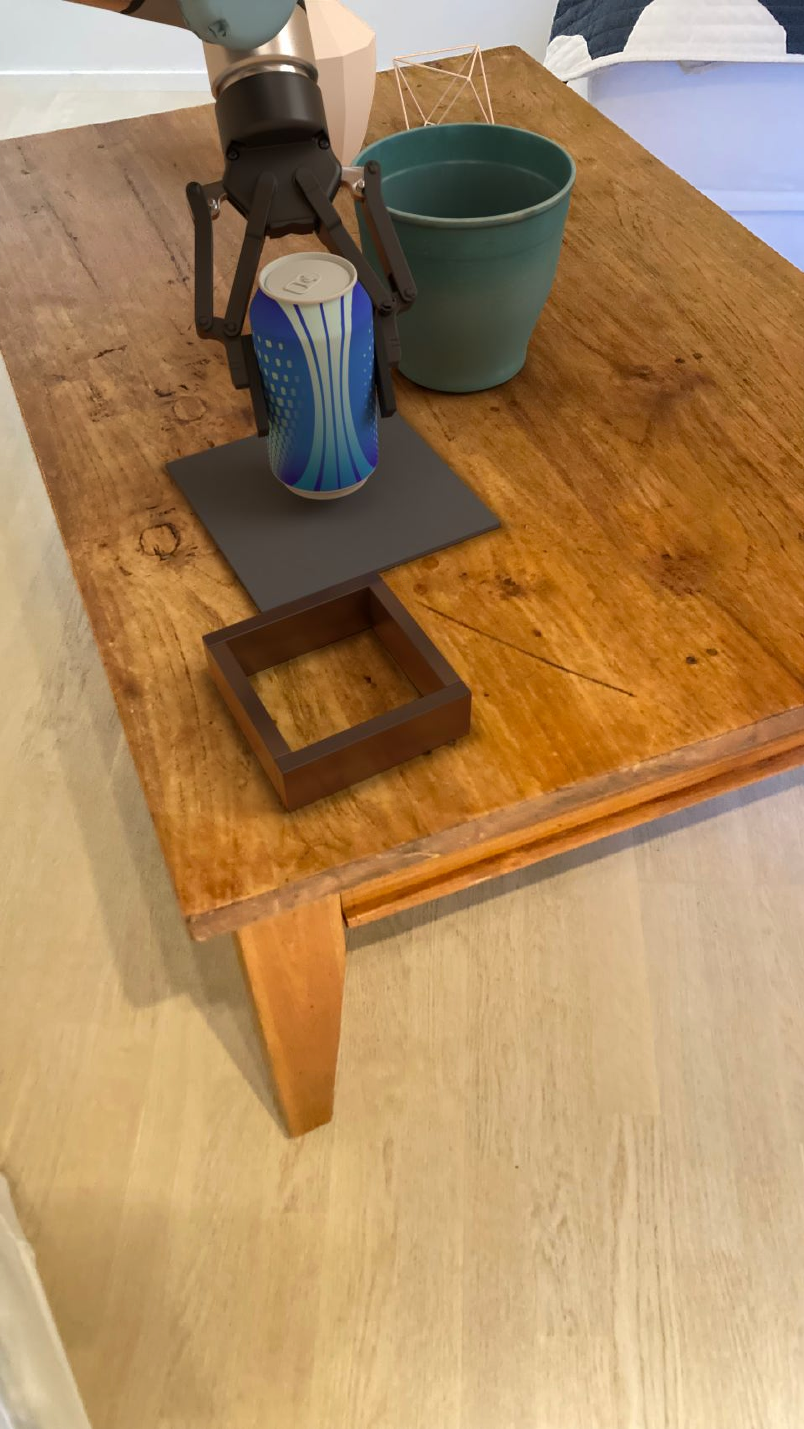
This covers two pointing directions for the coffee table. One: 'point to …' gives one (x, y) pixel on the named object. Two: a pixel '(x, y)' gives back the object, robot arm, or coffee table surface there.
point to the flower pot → (471, 244)
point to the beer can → (316, 373)
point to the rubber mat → (327, 515)
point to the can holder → (359, 746)
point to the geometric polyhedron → (450, 84)
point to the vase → (343, 73)
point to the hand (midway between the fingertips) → (327, 423)
